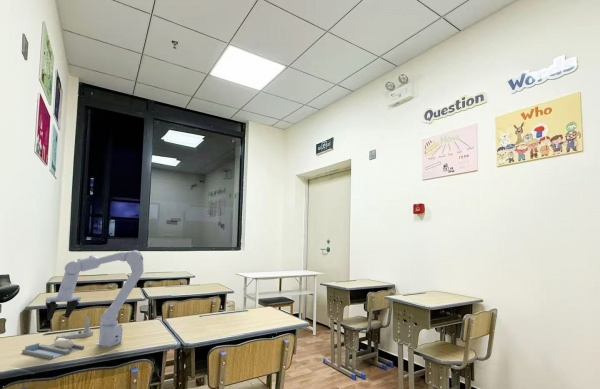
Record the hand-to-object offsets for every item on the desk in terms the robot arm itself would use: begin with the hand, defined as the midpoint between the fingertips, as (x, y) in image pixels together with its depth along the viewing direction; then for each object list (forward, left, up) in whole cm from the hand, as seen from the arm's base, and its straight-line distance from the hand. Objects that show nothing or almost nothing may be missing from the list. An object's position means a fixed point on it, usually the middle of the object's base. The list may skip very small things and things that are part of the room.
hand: (58, 318), depth 148 cm
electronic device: (+7, -14, -13) cm, 20 cm away
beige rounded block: (-5, 0, -12) cm, 13 cm away
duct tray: (-4, +3, -13) cm, 14 cm away
